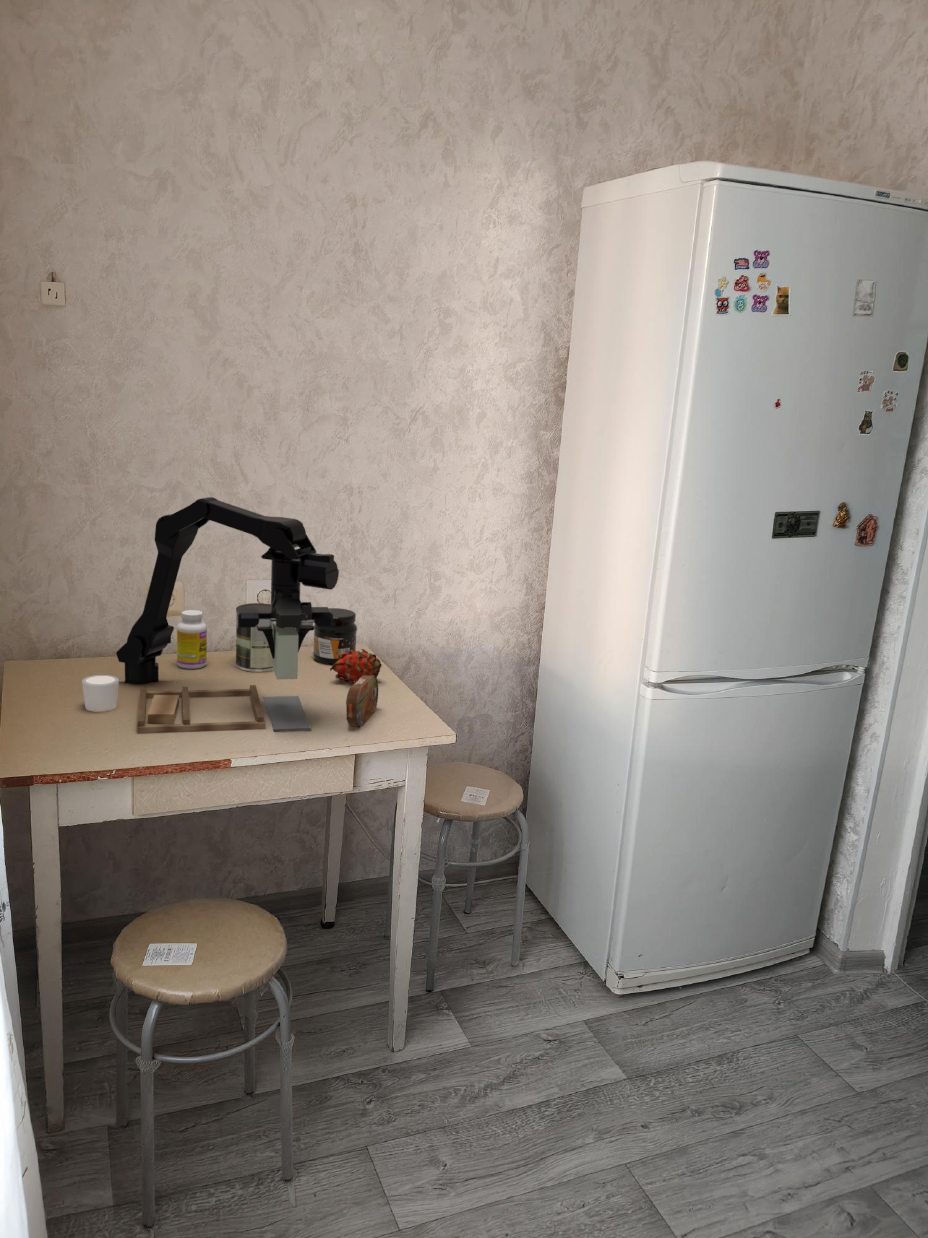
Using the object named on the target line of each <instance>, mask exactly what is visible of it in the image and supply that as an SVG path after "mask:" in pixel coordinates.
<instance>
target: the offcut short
mask: <svg viewBox="0 0 928 1238" xmlns="http://www.w3.org/2000/svg"><path fill="white" fill-rule="evenodd" d="M179 701H180V698H179V695H154V697H153V699H152V700H151V703H150V705H149V708H148V709H149V710H148V712H147V722H148V724H175V722H174V721H176V718H175V717H177V714H178V709H179V706H180V702H179Z"/></svg>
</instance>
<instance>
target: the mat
mask: <svg viewBox="0 0 928 1238" xmlns="http://www.w3.org/2000/svg"><path fill="white" fill-rule="evenodd" d="M262 700H263V703H264V706H265V710H266V712H267V715H268V718H269V721H270V725H271V727H272V731H273V732H275V733H276V732H297V731H298V730H299V731H298V732H300V730H305V731H311V726H310V723H309V720H308V718H307V715H306V712H305V710H304V707H303V705H302V701H301V700H300V697H299V695H284V696H283V695H281V696H280V695H279V696H276V695H275V696H262Z"/></svg>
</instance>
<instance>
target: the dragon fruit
mask: <svg viewBox="0 0 928 1238" xmlns="http://www.w3.org/2000/svg"><path fill="white" fill-rule="evenodd" d="M360 650H361V651H360ZM360 650H357V651H355V650H350V651H349V653H345V654H342V656H341V658H340V659H339V660H338V661H337V662H336V663H335V664H334V665H331V667H330V669H329V671H330V672H331V671H332V670H333V672H336V674H335V679H337V680H339V681H341V682H346V683H352V682H353V684H354V683H355V682H356V681H357V680H358V679H359V678H360V677H361V676H364V675H367V676H373V675H374V676H376V678H378V676H379V674H380V671H381V668H382V666H383V664H382V662H381V660H380V659H379V657H377V655H376V654H375V653H371V652H368V651H367V650H365V649H364V648H361V649H360Z"/></svg>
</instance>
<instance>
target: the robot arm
mask: <svg viewBox="0 0 928 1238" xmlns="http://www.w3.org/2000/svg"><path fill="white" fill-rule="evenodd" d="M209 522H214V523H216V524H220V525H223V526H225V527H228V528H230V529H231V528H232V529H234V530H237V531H240V532H242V533H246V534H249V535H252V536H254V537H255V538H257V539H258V540H259V541H260V542H261V543H262V545H263V544H264V545H265V546H267V547H269V548H268V549H267V551H265V553H263V554H262V555H261V556H260V557H261V559H263V560H267V561H269V560H270V561H271V570H270V571H271V576H270V577H271V578H270V604H271V612H258V610H257V607H240V608H239V609H238V610H237V612H236V614H237V624H238V627H255V626H256V627H257V630H258V631H263V633H264V635H265V637H266V639H267V642H268V645H269V648H270V652H271V655H272V658H273V659H274V658H275V649H274V640H273V629H272V626H271V622H272V621H276V626H277V627H278V628H285V627H294V628H295V629H296V631H297V633H298V653H299V652H300V649H301V647H302V644H303V641H304V639H305V638H306V636H307V634H308V633H309V632H310V631H314V625H315V624H316V625H317V626H318V627H331V626H333V614H332V612H331V611H330V609H329V607H328V606H312V602H310V601H301V584H302V585H303V586H304V587H310V588H317V589H323V590H333V589H334V588H335V587H336V585H337V584H338V581H339V577H340V570H339V569H338V564H337V562H336V561H335V555H334V554H331V553H324V554H323V553H317V549H316V548H315V546H314V545H313V543H312V541H311V540H310V538H309V536H308V535H307V533H306V528H305V526H304V524H303V522H302V521H300V520H299V519H297V518H290V517H284V516H269V515H263V514H260V513H256V512H254V511H251V510H248V509H245V508H242V507H239V506H237V505H233V504H231V503H229V502H225V501H221V500H218V499H217V498H215V497H213V496H211V497H209V496H208V497H203V498H199V499H197V500H195V501H193V502H192V503H191V504H189V505H188V506H186V507H183V508H182V509H179V510H178V511H176V512H174V513H170V514H165V515H163V516H160V517H159V518H158V519H157V521H156V523H155V529H154V530H155V531H154V543H155V545H156V549H157V556H156V559H155V563H154V568H153V570H152V574H151V579H150V583H149V586H148V591H147V595H146V599H145V604H144V606H143V611H142V613H141V615H140V616H139V618H138V619H137V620H136V621H135V623H134V624H133V625H132V626H131V629H130V631H129V634H128V635H127V639H126V642H125V643H124V644H123V645H121V647H120V648H118V649H117V651H116V652H115V655H116V657H117V661H118V662H119V663H122V664H123V663H124V683H125V684H131V685H148V684H152V683H159V679H160V677H159V675H160V674H159V663H158V662H156V657H160V656H162V654H163V651H164V649H165V648H166V647H167V646H168V644H172V635H173V632H174V629H175V627H174V626H173V625H170V624H169V621H168V618H167V615H168V612H169V607H170V604H171V600H172V597H173V594H174V593H173V592H174V589H175V585H176V582H177V577H178V574H179V569H180V567H181V563H182V562H181V561H182V559H183V557H184V555H185V554H186V553H187V552H188V550H189V549H190V547H191V546H192V545H193V543H194V540H195V539H196V536H197V534H198V532H199V529H201V528H202V527H205V525H207V524H208V523H209ZM296 548H297V549H296Z"/></svg>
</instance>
